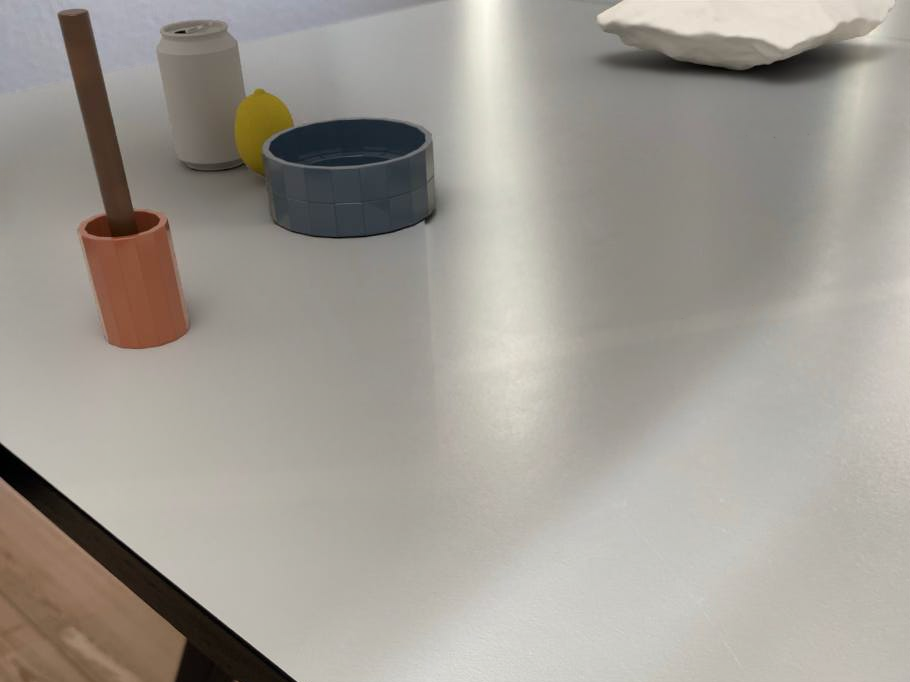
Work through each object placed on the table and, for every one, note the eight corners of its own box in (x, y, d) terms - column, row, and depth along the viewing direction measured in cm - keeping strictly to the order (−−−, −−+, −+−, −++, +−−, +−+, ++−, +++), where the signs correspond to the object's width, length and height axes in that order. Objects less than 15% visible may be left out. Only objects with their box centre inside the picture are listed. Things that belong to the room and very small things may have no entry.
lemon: (236, 177, 106) (220, 86, 101) (292, 168, 108) (280, 77, 102) (251, 194, 102) (236, 100, 97) (309, 184, 104) (297, 91, 99)
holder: (99, 357, 77) (68, 242, 72) (115, 321, 82) (87, 210, 76) (184, 353, 77) (159, 237, 72) (195, 317, 82) (173, 206, 77)
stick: (132, 336, 78) (53, 15, 65) (137, 325, 80) (60, 9, 67) (158, 334, 78) (84, 14, 66) (162, 324, 80) (91, 7, 67)
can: (174, 155, 112) (147, 20, 104) (249, 145, 114) (228, 12, 106) (183, 177, 106) (155, 37, 99) (261, 167, 108) (240, 28, 100)
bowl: (266, 248, 92) (254, 172, 88) (279, 190, 103) (269, 121, 99) (438, 239, 92) (434, 163, 88) (434, 183, 103) (430, 113, 99)
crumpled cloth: (931, 70, 122) (946, -27, 118) (612, 81, 121) (615, -16, 117) (859, 56, 142) (870, -28, 138) (585, 65, 142) (587, -18, 137)
